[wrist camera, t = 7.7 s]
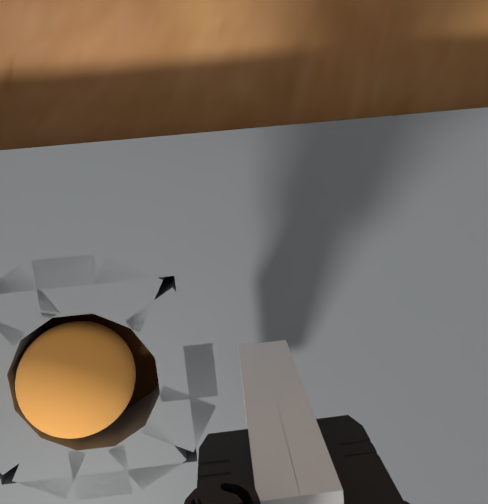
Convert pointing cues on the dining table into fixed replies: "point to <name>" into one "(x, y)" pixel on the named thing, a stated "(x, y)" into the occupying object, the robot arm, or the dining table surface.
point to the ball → (75, 379)
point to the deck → (258, 293)
